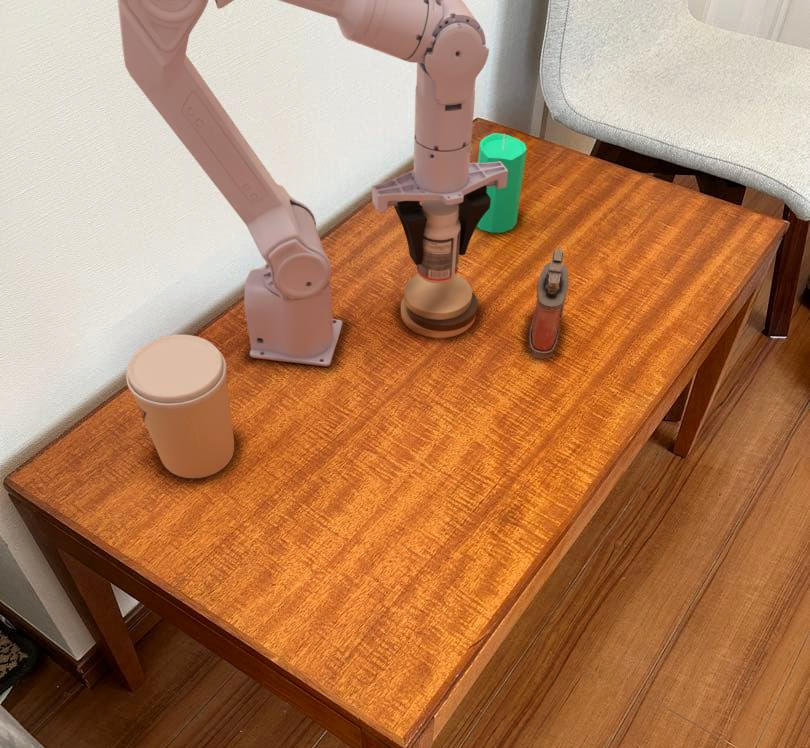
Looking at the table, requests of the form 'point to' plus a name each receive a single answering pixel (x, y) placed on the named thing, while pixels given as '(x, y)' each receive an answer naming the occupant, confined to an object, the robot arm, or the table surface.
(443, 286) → the tan layered disc
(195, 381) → the coffee cup
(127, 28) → the robot arm
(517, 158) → the candle
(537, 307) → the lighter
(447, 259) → the pill bottle
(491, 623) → the table surface
